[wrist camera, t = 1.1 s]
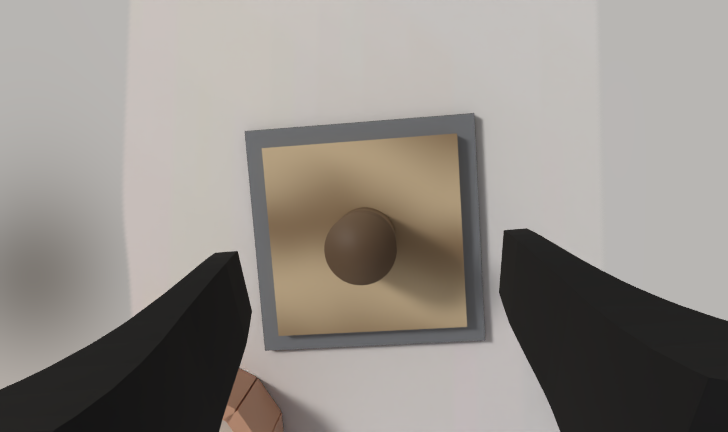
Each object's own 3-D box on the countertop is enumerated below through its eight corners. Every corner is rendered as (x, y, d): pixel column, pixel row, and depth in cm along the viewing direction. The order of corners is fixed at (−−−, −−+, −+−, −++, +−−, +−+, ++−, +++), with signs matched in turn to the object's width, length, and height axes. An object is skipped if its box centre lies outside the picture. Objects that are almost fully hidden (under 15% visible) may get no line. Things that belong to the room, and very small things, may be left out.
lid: (465, 323, 24) (480, 354, 20) (281, 332, 25) (259, 364, 21) (455, 134, 23) (469, 125, 19) (265, 148, 24) (238, 143, 20)
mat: (483, 337, 25) (485, 340, 24) (266, 347, 25) (265, 350, 25) (472, 114, 23) (474, 113, 23) (247, 131, 24) (244, 131, 24)
